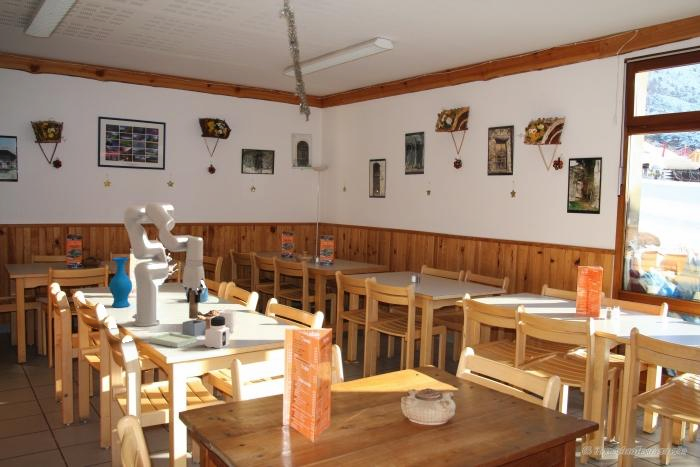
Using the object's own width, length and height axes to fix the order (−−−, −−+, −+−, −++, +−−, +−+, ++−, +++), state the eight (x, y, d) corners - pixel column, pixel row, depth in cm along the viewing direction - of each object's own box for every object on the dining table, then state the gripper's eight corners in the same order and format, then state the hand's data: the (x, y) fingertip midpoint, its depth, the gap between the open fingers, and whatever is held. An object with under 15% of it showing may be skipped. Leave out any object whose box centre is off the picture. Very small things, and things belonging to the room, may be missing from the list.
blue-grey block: (182, 334, 284) (182, 322, 284) (193, 331, 291) (194, 319, 291) (194, 337, 281) (194, 324, 280) (205, 333, 287) (206, 321, 287)
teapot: (210, 299, 379) (211, 282, 378) (208, 303, 364) (208, 286, 364) (186, 299, 377) (186, 282, 376) (183, 303, 362) (183, 286, 362)
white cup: (231, 334, 288) (231, 313, 287) (216, 332, 290) (216, 312, 289) (238, 330, 296) (238, 310, 295) (222, 329, 297) (223, 309, 297)
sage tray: (150, 342, 269) (150, 337, 269) (170, 337, 279) (170, 332, 279) (177, 347, 261) (177, 342, 261) (196, 342, 272) (196, 337, 272)
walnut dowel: (187, 318, 285) (187, 290, 284) (193, 316, 288) (193, 289, 287) (193, 319, 283) (194, 291, 282) (199, 317, 286) (200, 290, 285)
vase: (136, 306, 351) (136, 258, 349) (118, 309, 340) (117, 259, 338) (123, 303, 357) (123, 256, 355) (104, 306, 347) (104, 258, 345)
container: (229, 344, 268) (229, 315, 267) (220, 348, 261) (220, 319, 260) (214, 342, 271) (214, 314, 270) (204, 347, 264) (205, 317, 263)
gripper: (175, 262, 284) (174, 300, 286) (202, 265, 276) (201, 305, 278) (186, 260, 291) (186, 298, 292) (213, 264, 283) (212, 303, 284)
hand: (193, 301), depth 285 cm, fingers closed on walnut dowel, 4 cm apart
